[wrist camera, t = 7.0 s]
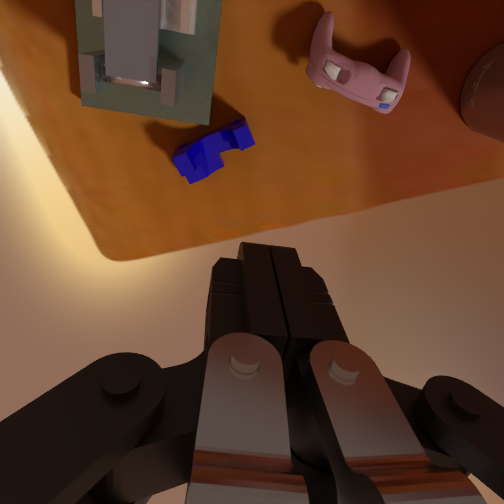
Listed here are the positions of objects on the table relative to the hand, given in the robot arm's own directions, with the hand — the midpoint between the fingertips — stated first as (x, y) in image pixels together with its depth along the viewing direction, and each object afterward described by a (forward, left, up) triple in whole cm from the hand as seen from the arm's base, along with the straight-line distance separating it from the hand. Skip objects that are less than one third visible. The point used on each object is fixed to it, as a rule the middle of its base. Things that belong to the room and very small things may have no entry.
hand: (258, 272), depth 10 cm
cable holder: (+1, +5, -31) cm, 31 cm away
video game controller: (-11, -5, -31) cm, 33 cm away
